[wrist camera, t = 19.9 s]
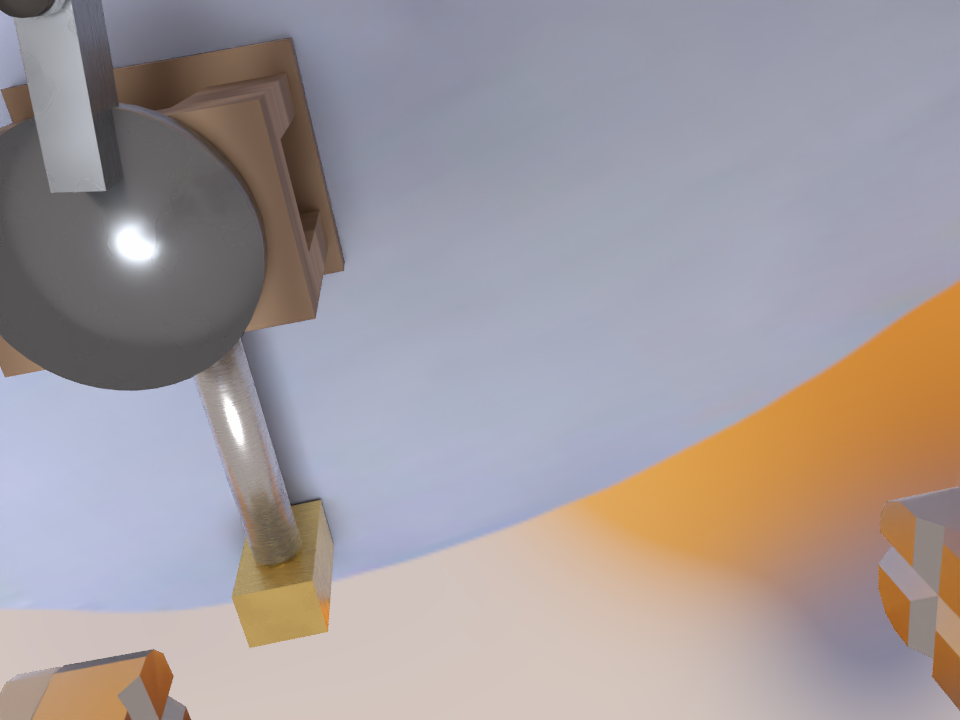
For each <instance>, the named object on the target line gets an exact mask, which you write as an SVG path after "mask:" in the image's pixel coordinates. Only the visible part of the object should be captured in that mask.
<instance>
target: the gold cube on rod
mask: <svg viewBox="0 0 960 720" xmlns="http://www.w3.org/2000/svg"><path fill="white" fill-rule="evenodd" d="M193 377H194V380H195V383H196V386H197V389H198V392H199V395H200V398H201V401H202V404H203V407H204V410H205V413H206V416H207V419H208V422H209V425H210V428H211V431H212V434H213V437H214V440H215V443H216V446H217V449H218V452H219V455H220V459H221V462H222V465H223V468H224V471H225V474H226V477H227V480H228V483H229V486H230V489H231V492H232V495H233V498H234V501H235V504H236V507H237V510H238V513H239V516H240V519H241V522H242V525H243V528H244V531H245V534H246V539H245V543H244V547H243V551H242V556H241V560H240V564H239V568H238V573H237V577H236V581H235V586H234V590H233V594H232V599H233V602H234V605H235V608H236V610H237V613H238V616H239V619H240V622H241V625H242V627H243V630H244V633H245V636H246V639H247V642H248V644H249V647H250V648H251V647H255V646H261V645H266V644H271V643H276V642H280V641H285V640H290V639H295V638H300V637H305V636H310V635H315V634H320V633H324V632H328V622H329V609H330V608H329V607H330V594H331V581H332V567H333V553H334V545H333V541H332V538H331V534H330V530H329V527H328V523H327V520H326V516H325V513H324V509H323V506H322V502H321V500H318V501H313V502H308V503H303V504H298V505H293V506H291V505H290V501H289V498H288V495H287V491H286V488H285V485H284V481H283V478H282V475H281V471H280V468H279V465H278V461H277V458H276V455H275V451H274V448H273V445H272V441H271V438H270V435H269V431H268V428H267V425H266V421H265V418H264V415H263V411H262V408H261V405H260V401H259V398H258V395H257V391H256V388H255V385H254V381H253V378H252V375H251V371H250V368H249V365H248V361H247V358H246V355H245V351H244V348H243V345H242V341H241V338H240V339H239V340H238V341H237V343H236V344H235V345H234V346H233V348H232V349H231V350H230V351H229V352H227V353H226V354H225V355H224V356H223V357H222V358H221V359H220V360H219V361H217V362H216V363H215V364H213V365H212V366H210V367H209V368H208V369H206V370H204V371H203V372H201V373H199V374H197V375H195V376H193Z"/></svg>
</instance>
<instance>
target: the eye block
mask: <svg viewBox="0 0 960 720" xmlns="http://www.w3.org/2000/svg"><path fill="white" fill-rule="evenodd" d="M113 72H114V78H115V84H116V90H117V95H118V101H119V103H124V104H130V105H136V106H140V107H143V108H147V109H150V110H153V111H157V112H160V113H162V114H164V115H166V116H169V117H171V118H173V119H175V120H178V121H179V122H181V123H183V124H185V125H186V126H188V127H190V128H191V129H193V130H195V131H196V132H198V133H199V134H200V135H202V136H203V137H204V138H206V139H207V140H208V141H210V142H211V143H212V144H213V145H214V146H215V147H216V148H217V149H218V150H219V151H220V152H222V153H223V154H224V155H225V156H226V157H227V158H228V160H229V161H230V162H231V163H232V165H233V166H234V167H235V168H236V169H237V171H238V172H239V173H240V175H241V176H242V178H243V179H244V181H245V183H246V184H247V186H248V187H249V189H250V191H251V193H252V195H253V197H254V199H255V202H256V204H257V206H258V209H259V212H260V215H261V218H262V221H263V224H264V230H265V235H266V241H267V269H266V277H265V282H264V286H263V290H262V293H261V296H260V299H259V301H258V304H257V307H256V309H255V312H254V314H253V317H252V319H251V321H250V323H249V325H248V326H247V328H246V330H245V332H247V331H252V330H257V329H263V328H268V327H273V326H278V325H284V324H289V323H294V322H299V321H305V320H310V319H315V318H316V313H317V307H318V301H319V296H320V290H321V285H322V279H323V275H324V274H329V273H335V272H340V271H344V263H345V262H344V258H343V254H342V250H341V245H340V241H339V237H338V233H337V228H336V224H335V220H334V216H333V211H332V207H331V203H330V199H329V194H328V190H327V186H326V182H325V177H324V173H323V169H322V165H321V160H320V156H319V152H318V148H317V143H316V139H315V135H314V131H313V126H312V122H311V118H310V114H309V109H308V105H307V101H306V97H305V92H304V88H303V84H302V80H301V75H300V71H299V67H298V63H297V58H296V54H295V50H294V46H293V41H292V37H291V38H286V39H280V40H274V41H269V42H263V43H257V44H252V45H246V46H240V47H235V48H229V49H223V50H218V51H212V52H206V53H201V54H195V55H189V56H184V57H178V58H172V59H167V60H161V61H155V62H150V63H144V64H138V65H133V66H127V67H121V68H116V69H113ZM1 92H2V95H3V98H4V100H5V103H6V105H7V108H8V111H9V113H10V116H11V119H12V121H13V124H10V125H7V126H5V127H2V128H0V135H2V134H3V133H4V132H6V131H7V130H8V129H10V128H12V127H14V126H16V125H17V124H19V123H21V122H23V121H24V120H27V119H30V118H32V117H35V116H34V112H33V107H32V102H31V97H30V93H29V88H28V84H25V85H19V86H13V87H10V88H6V89H2V90H1ZM0 367H1V369H2V371H3V374H4V376H5V377H9V376H15V375H20V374H25V373H31V372H36V371H41V370H46V369H44V368H42V367H40V366H39V365H37V364H35V363H34V362H32V361H31V360H29V359H27V358H26V357H25V356H23V355H22V354H21V353H19V352H18V351H17V350H15V349H14V348H13V347H12V346H11V345H9V344H8V343H7V342H6V341H5V340H4V339H3V338H2V337H1V336H0Z"/></svg>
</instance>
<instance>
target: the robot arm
mask: <svg viewBox="0 0 960 720" xmlns="http://www.w3.org/2000/svg"><path fill="white" fill-rule="evenodd" d="M880 533H881V534H882V535H883V536H884V537H885V538H886V539H887V540H888V542H889V543H890V544H891V545H892V547H891V548H890V549H889V550H888V552H887V553H886V555H885V556H884V557H883V559H882V560H881V561H880V563H879V564H878V589H879V592H880V596H881V599H882V603H883V607H884V610H885V613H886V615H887V617H888V618H889V620H890V622H891V624H892V626H893V628H894V630H895V631H896V632H897V634H898V635H899V636H900V638H901V639H902V640H903V641H904V643H905V644H906V645H907V647H909V648H911V649H913V650H916V651H918V652H920V653H922V654H924V655H926V656H928V657H931V658H933V673H932V677H933V678H934V680H935V681H936V682H937V683H938V685H939V686H940V687H941V688H942V690H943V691H944V692H945V693H946V694H947V695H948V697H949V698H950V699H951V700H952V702H953V703H954V704H955V705H956V707H957V708H958V709H959V710H960V486H958V487H953V488H948V489H944V490H939V491H934V492H929V493H924V494H919V495H915V496H910V497H905V498H901V499H896V500H891V501H886V504H885V506H884V508H883V510H882V512H881V521H880ZM172 680H173V674H172V672H171V669H170V667H169V665H168V663H167V661H166V659H165V656H164V654H163V653H161V652H159V651H156V650H154V649H153V650H148V651H142V652H136V653H131V654H125V655H120V656H114V657H109V658H103V659H97V660H92V661H86V662H81V663H75V664H70V665H65V666H63V667H56V668H51V669H45V670H40V671H35V672H29V673H24V674H19V675H17V676H15V677H14V678H12V679H11V680H10V681H8V682H7V683H6V684H5V685H4V687H3V689H2V691H1V693H0V720H191V718H190V716H189V713H188V711H187V708H186V707H185V706H184V705H182V704H181V703H179V702H177V701H176V700H174V699H173V698H171V697H169V696H168V694H169V691H170V687H171V684H172Z"/></svg>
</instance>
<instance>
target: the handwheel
mask: <svg viewBox="0 0 960 720" xmlns="http://www.w3.org/2000/svg"><path fill="white" fill-rule="evenodd" d="M0 10H1V11H2V12H4V13H5V14H7V15H10V16H12V17H14V21H15V26H16V31H17V36H18V40H19V45H20V50H21V55H22V59H23V64H24V69H25V74H26V78H27V83H28V88H29V93H30V97H31V102H32V107H33V112H34V116H35V117H32V118H30V119H27V120H24V121H23V122H21V123H19V124H17V125H16V126H14V127H12V128H10V129H8V130H7V131H6V132H4V133H3V134H2V135H0V336H1V337H2V338H3V339H4V340H5V341H6V342H7V343H8V344H9V345H11V346H12V347H13V348H14V349H15V350H17V351H18V352H19V353H21V354H22V355H23V356H25V357H26V358H27V359H29V360H31V361H32V362H34V363H35V364H37V365H39V366H40V367H42V368H44V369H46V370H48V371H50V372H52V373H54V374H56V375H58V376H61V377H63V378H66V379H69V380H71V381H74V382H77V383H80V384H84V385H88V386H93V387H97V388H103V389H112V390H145V389H154V388H159V387H164V386H168V385H172V384H175V383H178V382H181V381H183V380H186V379H189V378H191V377H193V376H195V375H197V374H199V373H201V372H203V371H204V370H206V369H208V368H209V367H210V366H212V365H213V364H215V363H216V362H217V361H219V360H220V359H221V358H222V357H223V356H224V355H225V354H226V353H227V352H229V351H230V350H231V349H232V348H233V346H234V345H235V344H236V343H237V341H238V340H239V339H240V338H241V336H242V335H243V333H244V332H245V330H246V328H247V326H248V325H249V323H250V321H251V319H252V317H253V314H254V312H255V309H256V307H257V304H258V301H259V299H260V296H261V293H262V290H263V286H264V282H265V277H266V269H267V241H266V235H265V230H264V224H263V221H262V218H261V215H260V212H259V209H258V206H257V204H256V202H255V199H254V197H253V195H252V193H251V191H250V189H249V187H248V186H247V184H246V183H245V181H244V179H243V178H242V176H241V175H240V173H239V172H238V171H237V169H236V168H235V167H234V166H233V165H232V163H231V162H230V161H229V160H228V158H227V157H226V156H225V155H224V154H223V153H222V152H220V151H219V150H218V149H217V148H216V147H215V146H214V145H213V144H212V143H211V142H210V141H208V140H207V139H206V138H204V137H203V136H202V135H200V134H199V133H198V132H196V131H195V130H193V129H191V128H190V127H188V126H186V125H185V124H183V123H181V122H179V121H178V120H175V119H173V118H171V117H169V116H166V115H164V114H162V113H160V112H157V111H153V110H150V109H147V108H143V107H140V106H136V105H130V104H124V103H119V101H118V95H117V90H116V84H115V78H114V72H113V66H112V60H111V54H110V49H109V43H108V37H107V31H106V25H105V19H104V13H103V8H102V2H101V0H0Z"/></svg>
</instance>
